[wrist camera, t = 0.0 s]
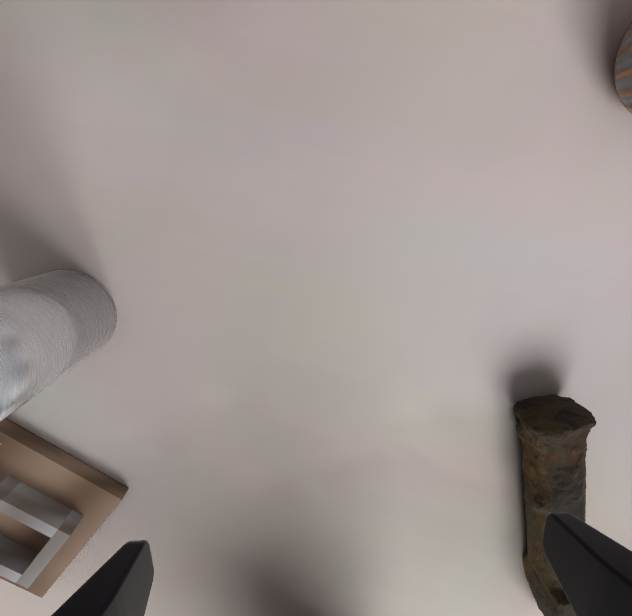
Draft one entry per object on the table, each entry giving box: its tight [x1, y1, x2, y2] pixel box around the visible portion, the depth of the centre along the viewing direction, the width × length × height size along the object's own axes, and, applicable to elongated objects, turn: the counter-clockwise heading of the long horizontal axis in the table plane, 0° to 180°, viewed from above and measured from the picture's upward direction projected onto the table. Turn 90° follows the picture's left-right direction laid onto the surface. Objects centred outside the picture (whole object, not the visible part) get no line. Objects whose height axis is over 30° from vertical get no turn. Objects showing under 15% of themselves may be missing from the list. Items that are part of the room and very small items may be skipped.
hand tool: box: [513, 395, 596, 616], centre depth 25 cm, size 19×4×5 cm, turn 8°
